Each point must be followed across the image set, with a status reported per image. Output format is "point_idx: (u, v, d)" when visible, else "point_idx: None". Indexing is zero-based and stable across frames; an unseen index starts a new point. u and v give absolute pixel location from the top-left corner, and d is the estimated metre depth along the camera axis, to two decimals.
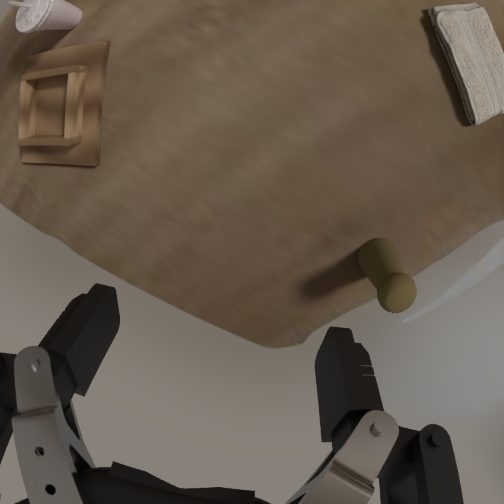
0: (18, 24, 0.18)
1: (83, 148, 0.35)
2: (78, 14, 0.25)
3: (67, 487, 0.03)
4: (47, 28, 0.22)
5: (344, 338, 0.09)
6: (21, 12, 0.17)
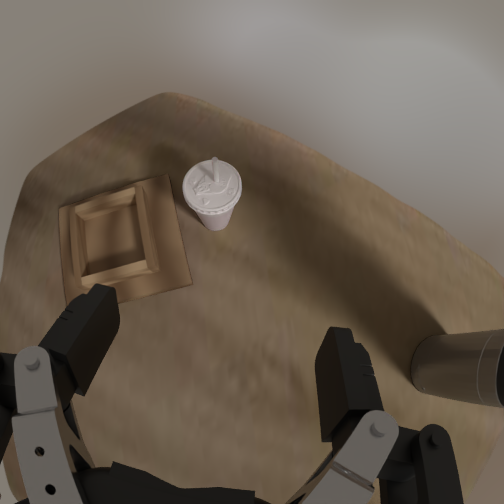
0: (193, 171, 0.31)
1: (80, 294, 0.34)
2: (220, 228, 0.38)
3: (67, 487, 0.03)
4: None
5: (344, 338, 0.09)
6: (209, 167, 0.31)
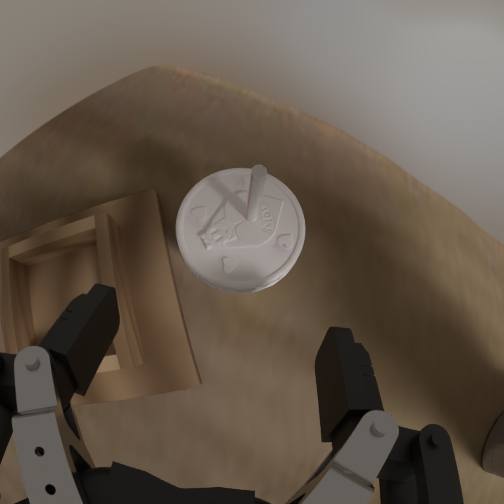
0: (200, 192, 0.14)
1: None
2: None
3: (67, 487, 0.03)
4: None
5: (344, 338, 0.09)
6: (235, 184, 0.15)
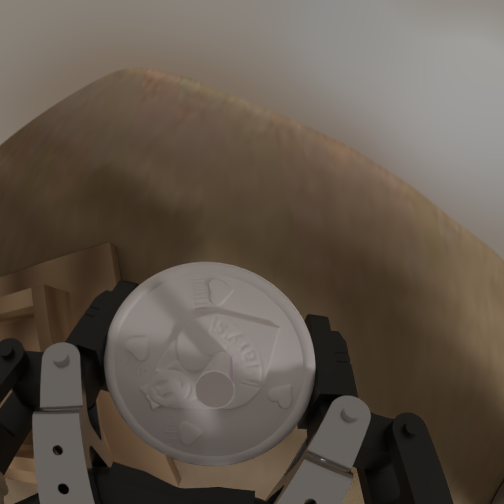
0: (137, 309, 0.08)
1: None
2: None
3: (82, 489, 0.03)
4: None
5: (320, 325, 0.10)
6: (195, 296, 0.08)
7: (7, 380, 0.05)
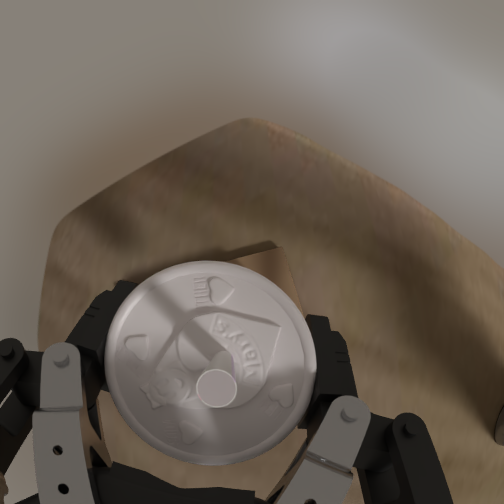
0: (137, 308, 0.08)
1: None
2: None
3: (82, 489, 0.03)
4: None
5: (320, 325, 0.10)
6: (196, 294, 0.08)
7: (7, 380, 0.05)
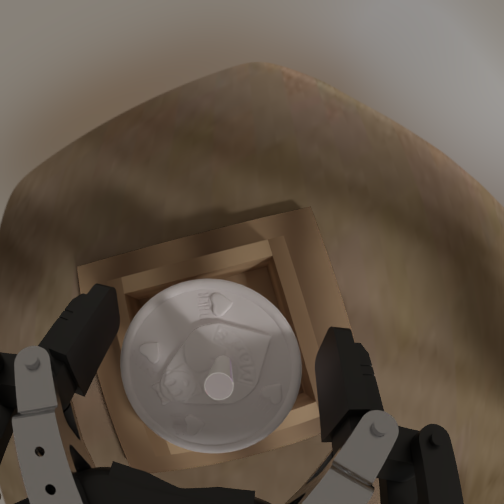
0: (149, 319, 0.10)
1: None
2: None
3: (68, 487, 0.03)
4: None
5: (344, 338, 0.09)
6: (200, 308, 0.10)
7: None
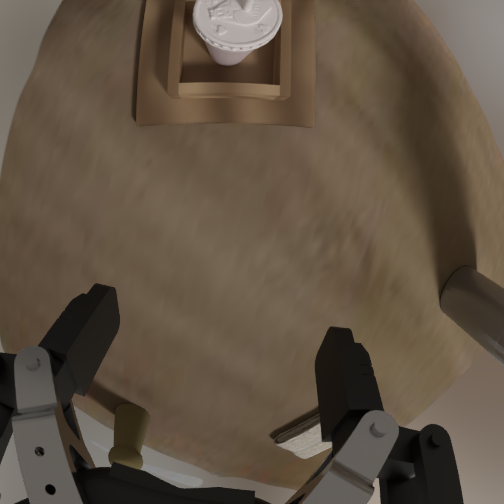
0: None
1: (160, 103, 0.25)
2: (229, 64, 0.24)
3: (67, 487, 0.03)
4: None
5: (344, 338, 0.09)
6: None
7: None
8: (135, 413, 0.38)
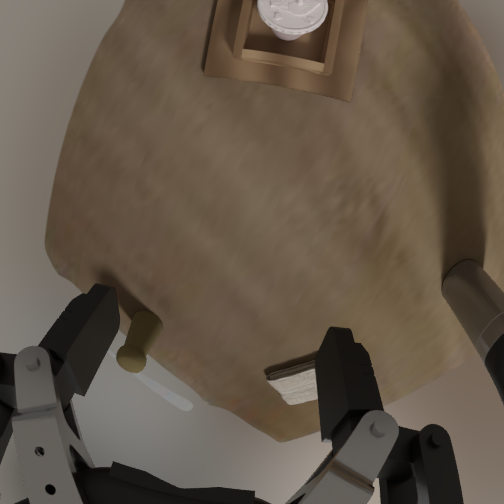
0: None
1: (226, 61, 0.30)
2: (286, 39, 0.27)
3: (68, 487, 0.03)
4: None
5: (344, 338, 0.09)
6: None
7: None
8: (151, 320, 0.49)
